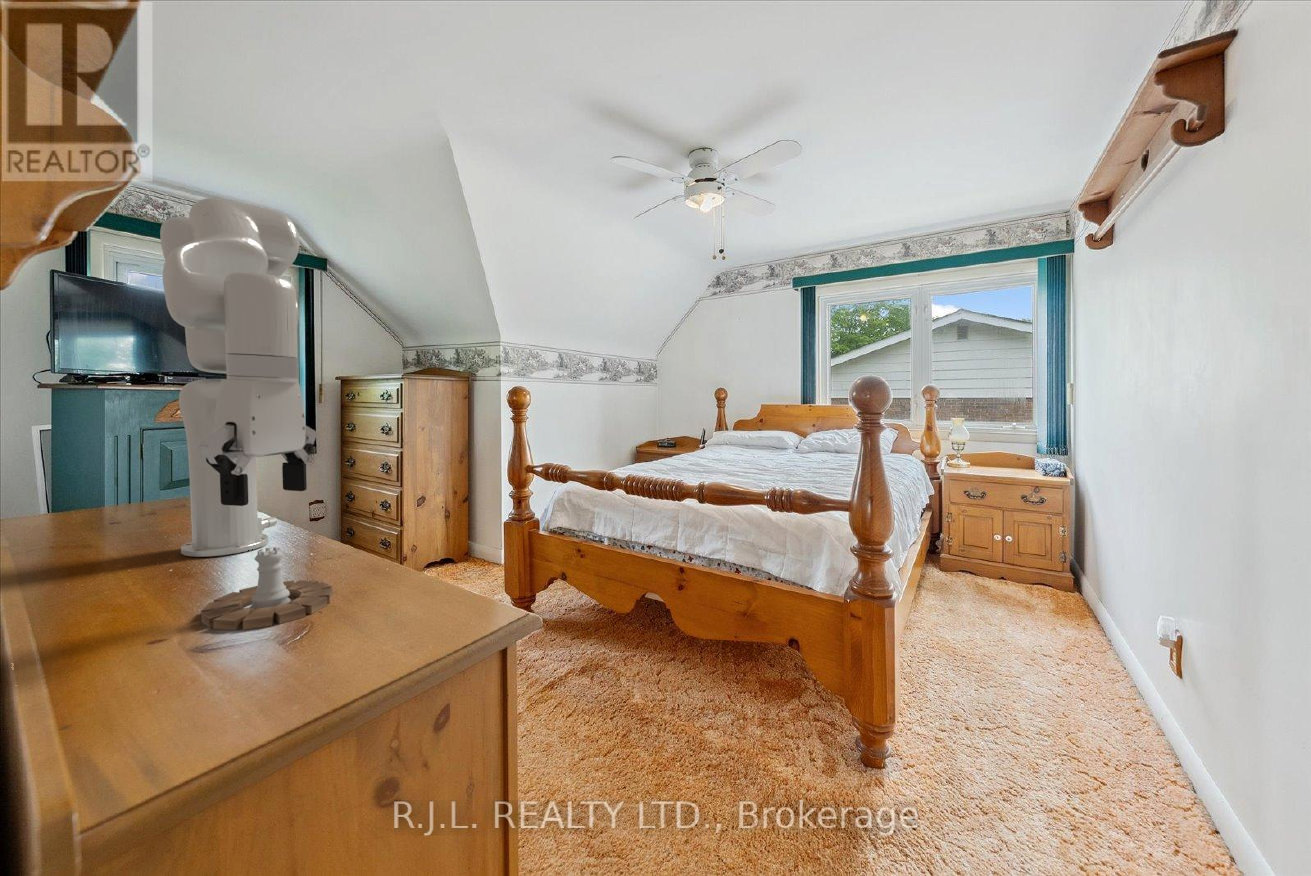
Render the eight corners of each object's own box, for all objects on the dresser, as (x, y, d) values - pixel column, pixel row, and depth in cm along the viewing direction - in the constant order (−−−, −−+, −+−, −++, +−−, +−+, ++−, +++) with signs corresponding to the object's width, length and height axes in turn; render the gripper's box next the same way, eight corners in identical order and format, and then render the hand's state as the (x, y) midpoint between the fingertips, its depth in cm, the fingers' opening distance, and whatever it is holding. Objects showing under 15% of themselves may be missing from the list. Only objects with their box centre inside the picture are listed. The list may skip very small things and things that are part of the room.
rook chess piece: (269, 615, 67) (267, 555, 67) (241, 611, 68) (239, 553, 68) (299, 602, 72) (297, 546, 71) (273, 599, 73) (271, 544, 72)
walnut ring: (266, 586, 77) (265, 578, 77) (353, 590, 76) (353, 582, 76) (172, 626, 63) (171, 617, 63) (277, 632, 62) (277, 623, 62)
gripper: (288, 372, 76) (290, 484, 78) (170, 365, 59) (176, 510, 61) (335, 374, 76) (337, 487, 77) (230, 368, 59) (235, 513, 60)
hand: (266, 497), depth 69 cm, fingers open, 9 cm apart
